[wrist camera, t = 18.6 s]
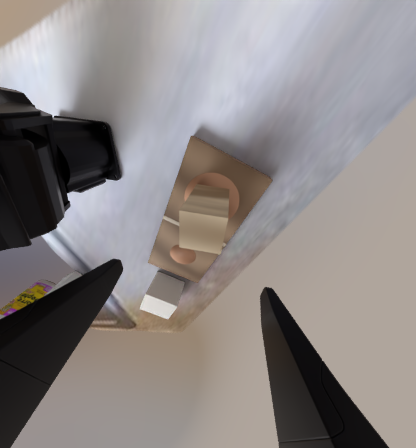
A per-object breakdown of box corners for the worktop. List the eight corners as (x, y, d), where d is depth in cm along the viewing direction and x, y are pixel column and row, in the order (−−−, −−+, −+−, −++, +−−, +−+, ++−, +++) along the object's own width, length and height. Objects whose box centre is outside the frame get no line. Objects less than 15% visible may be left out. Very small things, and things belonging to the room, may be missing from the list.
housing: (157, 271, 30) (145, 294, 26) (184, 282, 31) (177, 306, 26) (151, 286, 33) (139, 308, 29) (175, 296, 34) (167, 319, 30)
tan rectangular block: (196, 184, 18) (179, 210, 12) (229, 189, 18) (228, 218, 12) (194, 213, 20) (179, 247, 14) (223, 217, 20) (220, 254, 14)
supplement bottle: (61, 283, 38) (-6, 343, 27) (66, 296, 42) (9, 354, 31) (34, 275, 38) (-44, 333, 27) (42, 289, 41) (-24, 345, 31)
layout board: (193, 135, 16) (190, 135, 15) (270, 177, 18) (272, 180, 16) (150, 257, 28) (147, 262, 27) (198, 277, 29) (197, 283, 28)
